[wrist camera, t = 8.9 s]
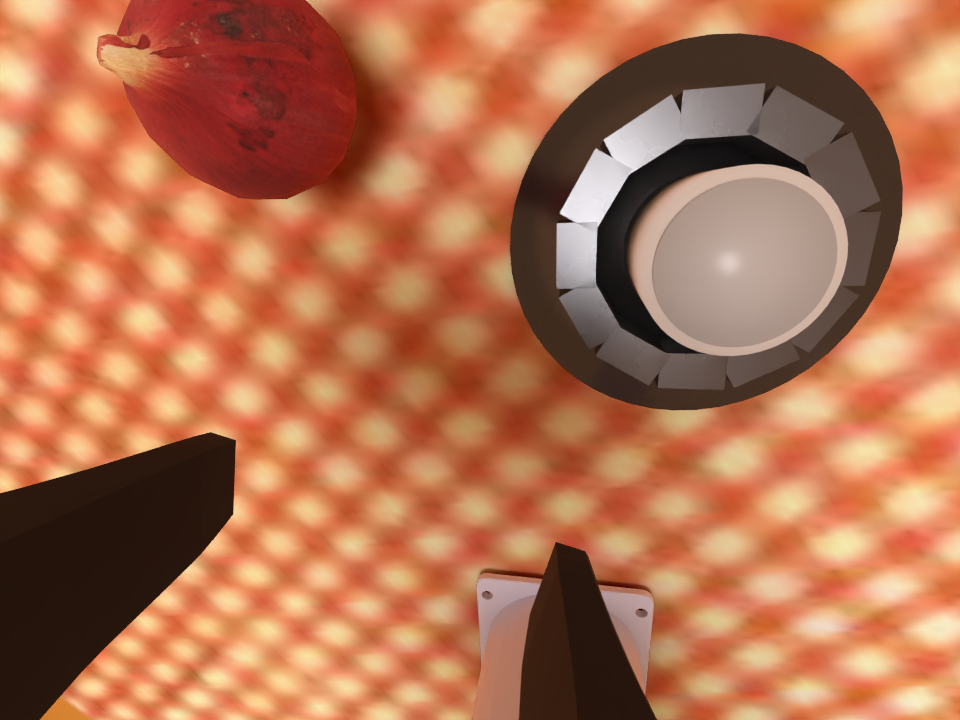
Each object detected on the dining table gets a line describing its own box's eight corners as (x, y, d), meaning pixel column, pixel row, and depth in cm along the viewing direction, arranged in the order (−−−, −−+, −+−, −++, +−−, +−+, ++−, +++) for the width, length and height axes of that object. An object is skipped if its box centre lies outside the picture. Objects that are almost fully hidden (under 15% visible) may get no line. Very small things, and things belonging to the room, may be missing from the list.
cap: (756, 317, 16) (824, 364, 12) (616, 311, 17) (630, 352, 12) (786, 171, 14) (878, 162, 10) (631, 172, 15) (653, 163, 11)
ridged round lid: (846, 409, 17) (891, 445, 15) (515, 398, 19) (507, 427, 17) (936, 16, 13) (1019, -24, 11) (508, 61, 15) (495, 36, 13)
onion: (346, -18, 15) (136, -210, 8) (419, 156, 17) (298, 129, 9) (215, 70, 17) (-57, -22, 10) (292, 221, 19) (105, 242, 11)
